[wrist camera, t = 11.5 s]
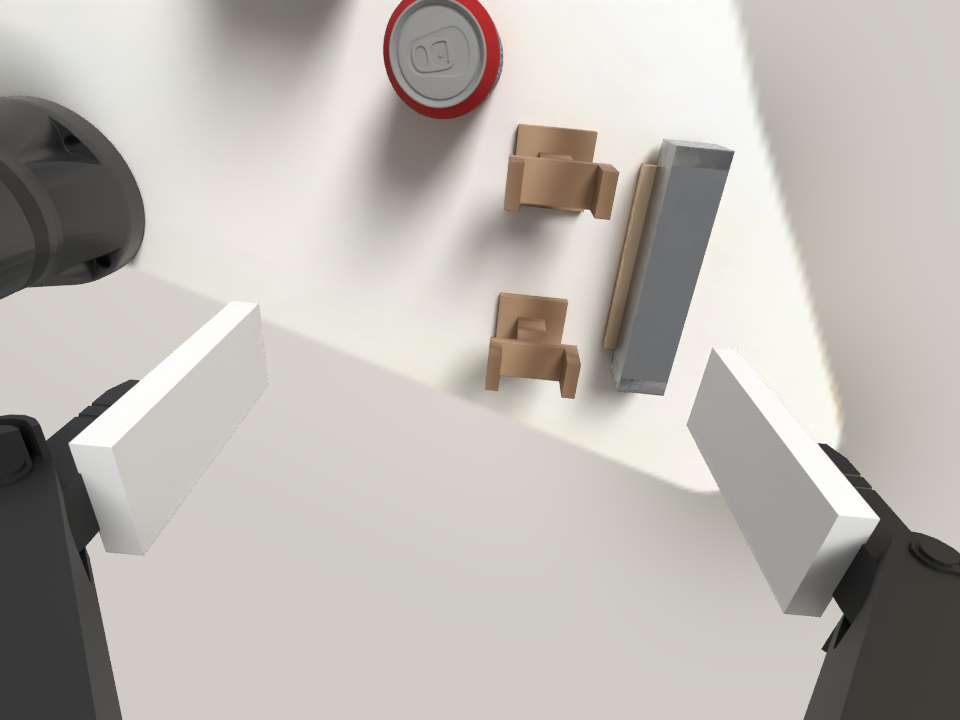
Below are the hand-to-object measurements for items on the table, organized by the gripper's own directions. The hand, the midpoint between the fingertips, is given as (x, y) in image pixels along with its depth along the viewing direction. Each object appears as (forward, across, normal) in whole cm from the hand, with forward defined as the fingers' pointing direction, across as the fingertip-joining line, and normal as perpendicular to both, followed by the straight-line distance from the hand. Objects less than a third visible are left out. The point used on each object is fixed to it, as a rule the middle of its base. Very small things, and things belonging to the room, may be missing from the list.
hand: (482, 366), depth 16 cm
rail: (+30, +14, -6) cm, 34 cm away
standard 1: (+31, +5, -13) cm, 34 cm away
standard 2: (+32, +4, +1) cm, 32 cm away
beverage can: (+32, -4, +8) cm, 33 cm away
